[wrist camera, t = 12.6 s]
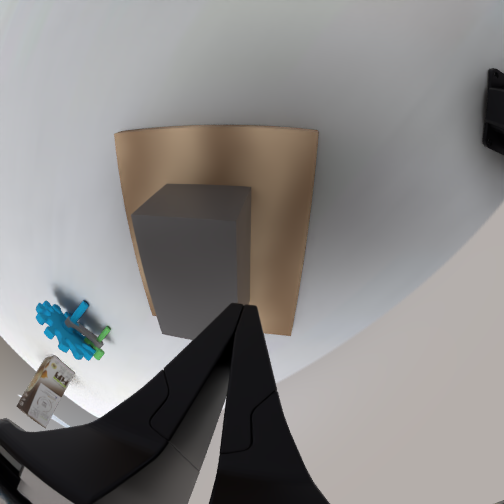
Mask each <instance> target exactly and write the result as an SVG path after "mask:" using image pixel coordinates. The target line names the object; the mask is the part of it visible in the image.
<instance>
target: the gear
mask: <svg viewBox="0 0 504 504" xmlns="http://www.w3.org/2000/svg"><path fill="white" fill-rule="evenodd" d="M88 307H89V305H88V304H87V303H86V302H85V301H83V302H82V303H81V304H80V305H79V307H78V308H77V309H76V311H75V312H74V313H73V315H70V314H69V313H68V312H65V314H63V313H62V311H61V308H60V307H59V306H58V305H56V304H54V305H53V306H51V305H50V303H49V302H48V301H45V302H44V303H43V304H41V303H39V304H38V305H37V307H36V311H37V313H38V314H37V316H36V319H37V321H38V322H39V324H41V325H43V324H44V323H47V324H48V325H49V326H50V327H49V326H48V327H47V328H46V329H45V331H44V334H45V335H46V336H47V337H48V338H49V339H52V338H53V337H54V336H55V335H56V336H57V338H58V341H59V345H58V348H59V349H60V350H62V351H63V352H66V353H67V351H68V350H69V349H70V350H71V351H72V353H73V356H74V357H75V358H76V359H78V360H81V359H82V357H83V356H84V357H85V358H86V359H87V360H88V361H89V360H90V359H91V358H92V356H94V357H95V358H96V359H97V360H100V358H101V357H102V356H103V355H104V351H103V350H102V349H100V348H101V347H102V346H103V342H102V340H103V339H104V338H105V336H106V335H107V334H108V333H109V332H110V330H111V329H110V328H109V327H107V326H106V328H105V329H104V330H103V331H102V333H101V334H100V335H99V336H98V337H97V336H95V335H94V334H93V333H91V332H90V331H89V330H88V329H86V328H85V327H84V326H82V325H81V324H80V323H79V322H77V321H78V320H79V318H80V317H81V316H82V314H83V313H84V312H85V311H86V309H87V308H88ZM82 334H83V335H84V336H83V335H82ZM94 353H95V354H94Z"/></svg>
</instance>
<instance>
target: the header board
mask: <svg viewBox="0 0 504 504" xmlns="http://www.w3.org/2000/svg"><path fill="white" fill-rule="evenodd" d="M318 134H319V132H318V130H311V129H301V128H290V127H276V126H257V125H190V126H171V127H157V128H146V129H136V130H128V131H121V132H118V133H115V134H114V137H115V146H116V154H117V161H118V169H119V175H120V182H121V188H122V194H123V199H124V205H125V210H126V215H127V220H128V225H129V229H130V234H131V238H132V243H133V247H134V251H135V255H136V259H137V263H138V267H139V271H140V274H141V278H142V282H143V285H144V289H145V292H146V296H147V299H148V302H149V305H150V309H151V312H152V315H153V316H156V313H155V309H154V306H153V303H152V299H151V296H150V292H149V289H148V285H147V282H146V278H145V274H144V270H143V267H142V263H141V259H140V255H139V250H138V246H137V242H136V237H135V233H134V228H133V223H132V218H131V214H132V213H133V212H134V211H136V210H137V209H138V208H139V207H140V206H141V205H142V204H143V203H145V202H146V201H147V200H148V199H149V198H150V197H151V196H153V195H154V194H155V193H156V192H157V191H159V190H160V189H161V188H162V187H163V186H164V185H166V184H205V185H229V186H247V187H251V248H250V302H249V305H256V306H257V308H258V312H259V316H260V320H261V325H262V329H263V333H267V334H276V335H286V336H291V332H292V327H293V321H294V316H295V310H296V305H297V299H298V293H299V287H300V281H301V274H302V268H303V262H304V255H305V248H306V241H307V234H308V226H309V219H310V211H311V203H312V194H313V185H314V176H315V167H316V156H317V145H318Z"/></svg>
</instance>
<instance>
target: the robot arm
mask: <svg viewBox="0 0 504 504" xmlns="http://www.w3.org/2000/svg"><path fill="white" fill-rule="evenodd" d="M494 73H495V75H496V77H495V75H494ZM488 140H489V144H488ZM483 144H484V146H485V147H487V148H489V149H492V150H494V151H496V152H498V153H501V154H503V155H504V73H502V72H500V71H499V70H497V69H494V68H491V69H490V70H489V87H488V102H487V112H486V121H485V128H484V135H483ZM226 396H227V397H226ZM225 399H226V405H225V413H224V421H223V430H222V438H221V446H220V456H219V463H218V469H217V474H216V479H215V482H214V486H213V490H212V494H211V498H210V502H209V504H330V503H329V502H328V501H327V499H326V498H325V497H324V495H323V494H322V493H321V491H320V490H319V489H318V488H317V486H316V485H315V483H314V482H313V480H312V478H311V477H310V475H309V473H308V471H307V469H306V467H305V465H304V463H303V461H302V458H301V456H300V453H299V451H298V449H297V447H296V445H295V442H294V440H293V437H292V435H291V433H290V430H289V427H288V425H287V422H286V419H285V417H284V414H283V411H282V406H281V403H280V399H279V395H278V392H277V387H276V383H275V379H274V375H273V371H272V366H271V362H270V358H269V354H268V350H267V346H266V341H265V337H264V333H263V329H262V325H261V320H260V316H259V312H258V308H257V306H256V305H248V304H245V305H243V304H241V303H231V304H229V305H228V306H227V307H226V308H225V309H224V310H223V311H222V312H221V313H220V314H219V315H218V316H217V317H216V318H215V319H214V320H213V321H212V322H211V323H210V324H209V325H208V326H207V327H206V328H205V329H204V330H203V331H202V332H201V333H200V334H199V335H198V336H197V337H196V338H195V339H194V340H193V341H192V342H191V343H190V344H189V345H187V346H186V347H185V348H184V349H183V350H182V351H181V352H180V353H179V354H178V355H177V356H176V357H175V358H174V359H173V360H172V361H171V362H170V363H169V364H168V365H167V366H166V367H164V370H161V371H160V372H159V373H158V374H157V375H156V376H155V377H154V378H153V379H151V380H150V381H149V382H148V383H147V384H146V385H145V386H144V387H142V388H141V389H140V390H138V391H137V392H136V393H135V394H133V395H132V396H131V397H129V398H128V399H126V400H125V401H124V402H122V403H121V404H119V405H118V406H117V407H115V408H114V409H112V410H111V411H109V412H108V413H107V414H105V415H104V416H102V417H101V418H99V419H97V420H95V421H93V422H91V423H88V424H85V425H80V426H74V427H69V428H62V429H56V430H48V431H40V432H26V431H25V430H23V429H22V428H20V427H19V426H18V425H16V424H15V423H13V422H12V421H11V420H9V419H7V418H4V419H0V504H188V501H189V499H190V496H191V494H192V491H193V488H194V485H195V483H196V480H197V477H198V475H199V471H200V469H201V466H202V464H203V461H204V458H205V455H206V453H207V450H208V447H209V444H210V442H211V439H212V436H213V433H214V430H215V427H216V424H217V422H218V419H219V416H220V413H221V410H222V408H223V405H224V402H225ZM495 504H504V500H503V501H500V502H498V503H495Z"/></svg>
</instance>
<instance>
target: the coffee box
mask: <svg viewBox="0 0 504 504" xmlns="http://www.w3.org/2000/svg"><path fill="white" fill-rule="evenodd" d="M74 374H75V373H74V372H73V371H72V370H71V369H69V368H68V367H67V366H66V365H65V364H64V363H63V362H61V361H60V360H59V359H58V358H57V357H56V356H52V357H48V358H45V359H44V361H43V362H42V364H41V366H40V367H39V369H38V370H37V372H36V374H35V375H34V377H33V379H32V380H31V382H30V384H29V385H28V387H27V389H26V390H25V392H24V394H23V396H22V397H21V399H20V401H19V403H18V405H17V407H18V408H19V409H21V411H22V412H24V413H25V414H26V415H27V416H29V417H30V418H31V419H33V420H34V421H35V422H37V423H38V424H40V425H41V426H43V427H44V428H46V426H47V424H48V422H49V420H50V418H51V416H52V414H53V412H54V411H55V409H56V407H57V405H58V403H59V401H60V399H61V397H62V395H63V394H64V392H65V390H66V388H67V386H68V385H69V383H70V381H71V379H72V378H73V376H74Z"/></svg>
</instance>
